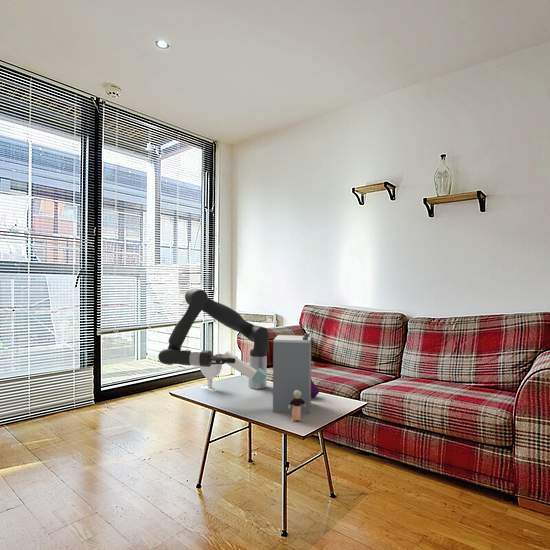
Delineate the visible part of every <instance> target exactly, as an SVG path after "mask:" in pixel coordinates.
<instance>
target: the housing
mask: <svg viewBox="0 0 550 550" xmlns="http://www.w3.org/2000/svg"><path fill="white" fill-rule="evenodd" d="M272 342H273V346H272V347H273V354H272V357H273V360H272V363H273V365H272V370H273V371H272V412H273V413H283V412H285V413H286V414H287V413H289V414H292V410H293V405H291V407H290V409H289V408H288V406H289V404H290V402H291V401H292V400H293V399H294V398H295V397H294V391H295V390H298V391H300V392H301V396H300V399H302V400H304V402H305V405H306V407H304V405H303V404H301V414H303V413H309V414H310V410H311V403H312V399H311V379H312V364H311V361H312V335H310V333H304V334H303V335H289V334H284V335H283V334H278V335H277V336H275V337H274V339H273V341H272ZM285 413H284V414H285Z"/></svg>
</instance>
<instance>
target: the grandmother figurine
mask: <svg viewBox="0 0 550 550" xmlns="http://www.w3.org/2000/svg"><path fill="white" fill-rule="evenodd" d="M300 396H301V392H300V391H298V390H295V391H294V397H295V398H294V399H293V400H292V401H291V402H290V404H289V406H288V408H289V409H290V407H291V405H293V410H292V413H291V420H290V421H296V422H302V421H301V420H302V419H301V418H302V413H301V404H303V405H304V407H306V405H305V402H304V400H302V399H300Z"/></svg>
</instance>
